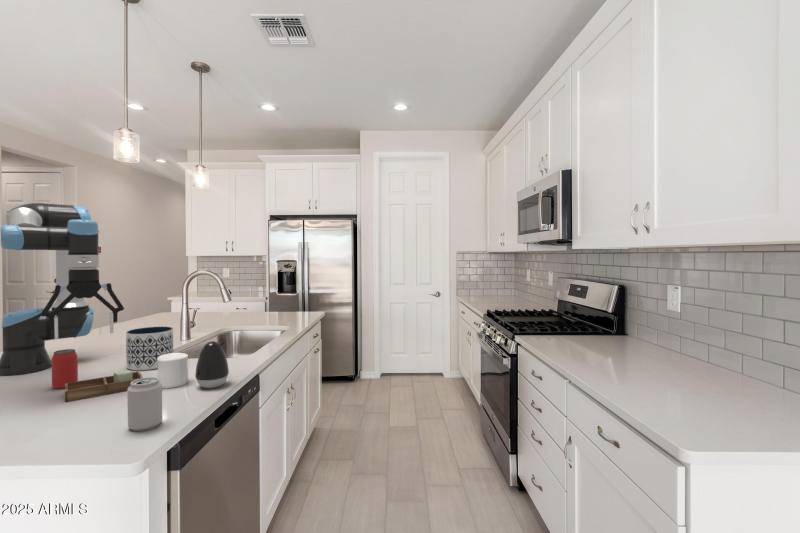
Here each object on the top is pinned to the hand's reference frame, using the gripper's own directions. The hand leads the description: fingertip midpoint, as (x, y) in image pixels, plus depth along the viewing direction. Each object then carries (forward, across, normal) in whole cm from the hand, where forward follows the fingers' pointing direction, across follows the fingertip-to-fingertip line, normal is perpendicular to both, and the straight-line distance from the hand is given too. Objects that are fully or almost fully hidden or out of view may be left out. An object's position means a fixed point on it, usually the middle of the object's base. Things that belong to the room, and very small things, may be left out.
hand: (85, 335), depth 122 cm
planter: (+19, +21, +25) cm, 38 cm away
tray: (+19, +5, 0) cm, 19 cm away
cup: (+19, +23, -7) cm, 31 cm away
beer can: (+19, -5, +14) cm, 24 cm away
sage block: (+18, +10, 0) cm, 20 cm away
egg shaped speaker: (+19, +33, -18) cm, 42 cm away
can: (+19, +11, -40) cm, 46 cm away
